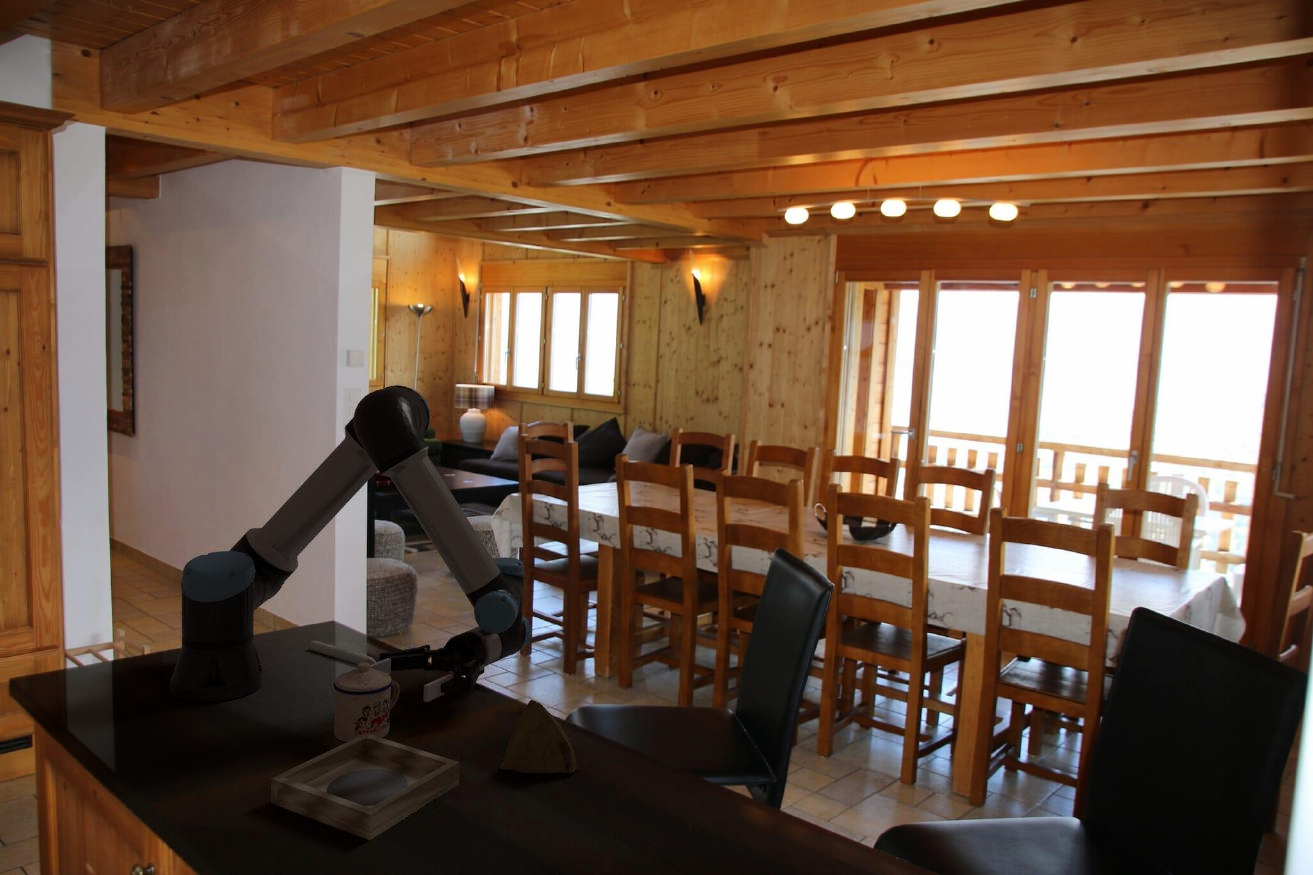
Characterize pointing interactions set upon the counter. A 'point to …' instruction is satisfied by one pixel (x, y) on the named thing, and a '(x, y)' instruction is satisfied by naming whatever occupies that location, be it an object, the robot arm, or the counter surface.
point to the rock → (539, 744)
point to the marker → (340, 653)
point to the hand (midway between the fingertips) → (393, 685)
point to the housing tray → (365, 785)
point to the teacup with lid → (363, 703)
